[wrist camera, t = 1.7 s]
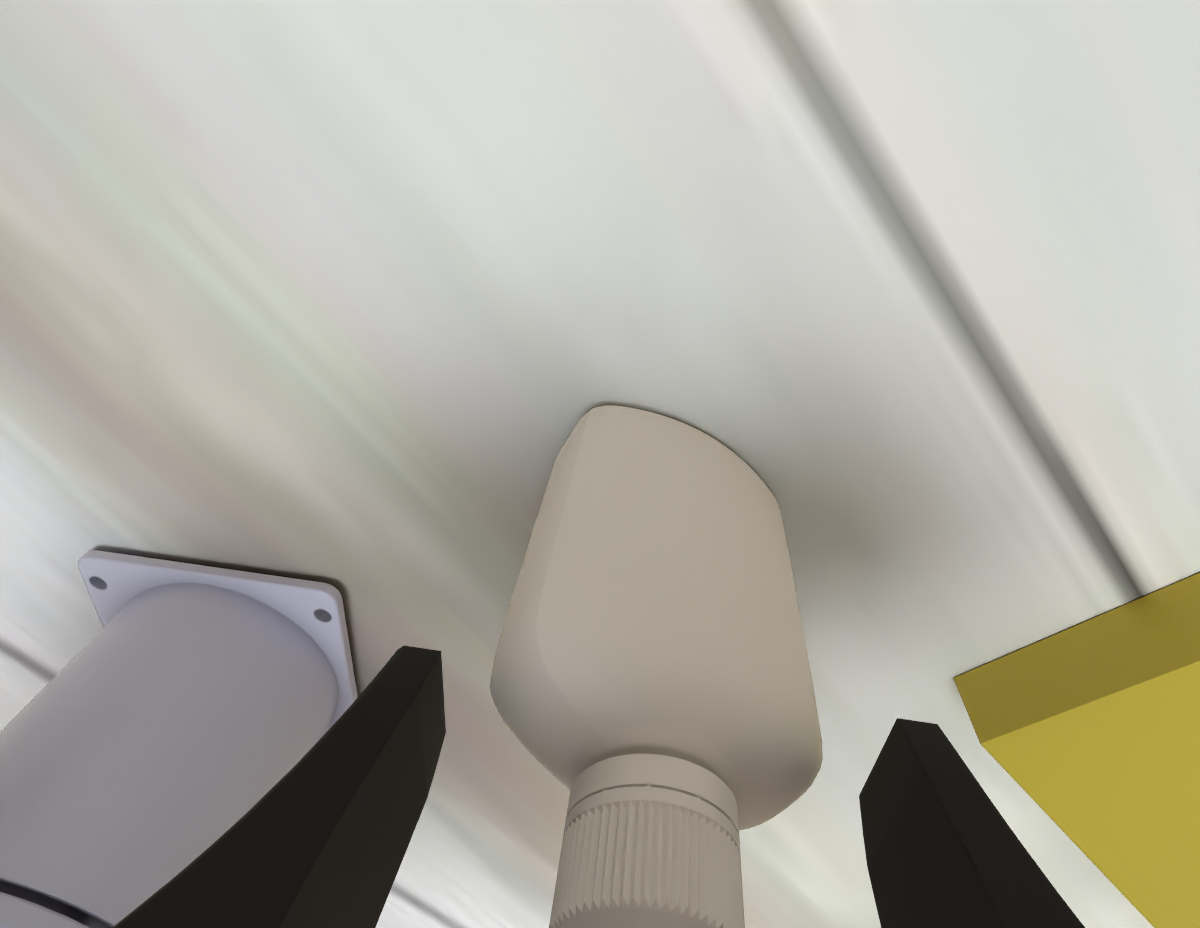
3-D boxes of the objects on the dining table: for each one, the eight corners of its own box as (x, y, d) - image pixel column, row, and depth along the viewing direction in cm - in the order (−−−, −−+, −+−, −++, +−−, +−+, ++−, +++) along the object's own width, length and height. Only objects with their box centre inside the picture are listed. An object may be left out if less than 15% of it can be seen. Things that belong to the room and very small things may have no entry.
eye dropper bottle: (648, 585, 19) (601, 1195, 9) (535, 429, 17) (305, 1011, 7) (796, 527, 18) (939, 1189, 8) (693, 348, 15) (700, 947, 5)
